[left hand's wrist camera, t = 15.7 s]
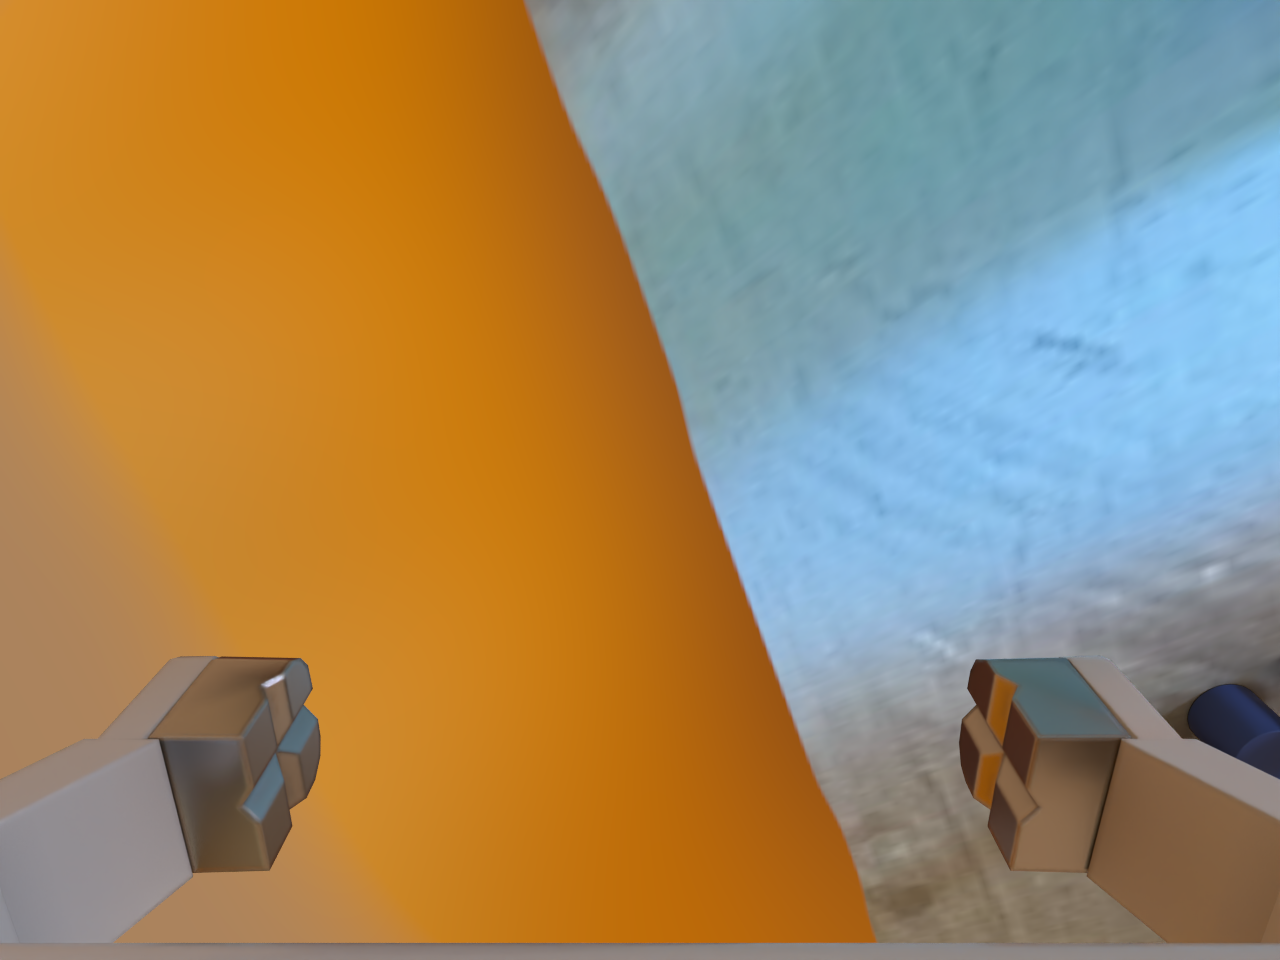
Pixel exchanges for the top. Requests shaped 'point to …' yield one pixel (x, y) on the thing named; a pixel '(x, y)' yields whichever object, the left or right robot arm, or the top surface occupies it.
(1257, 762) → the can
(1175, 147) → the top surface
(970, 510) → the top surface
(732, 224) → the top surface
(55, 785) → the left robot arm
